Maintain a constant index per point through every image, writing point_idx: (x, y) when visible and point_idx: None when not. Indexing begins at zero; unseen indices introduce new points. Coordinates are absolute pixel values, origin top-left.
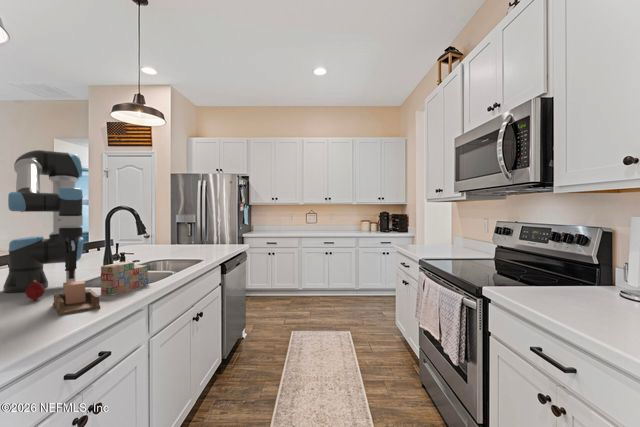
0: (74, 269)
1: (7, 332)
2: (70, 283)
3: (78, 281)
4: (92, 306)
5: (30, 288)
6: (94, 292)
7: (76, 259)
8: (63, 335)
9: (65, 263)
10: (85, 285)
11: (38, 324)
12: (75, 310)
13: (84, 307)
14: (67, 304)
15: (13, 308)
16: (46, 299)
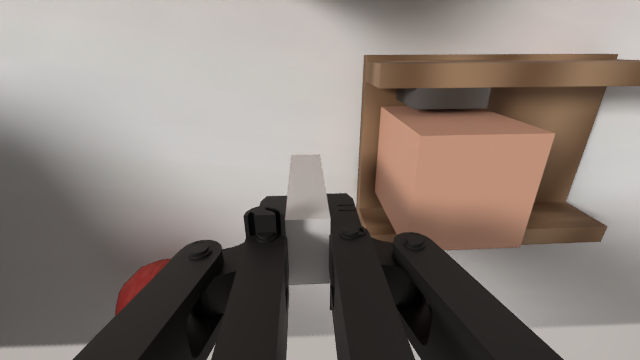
0: (366, 235)
1: (595, 322)
2: (471, 218)
3: (436, 165)
4: (590, 90)
5: None
6: (535, 63)
7: (537, 338)
8: None
9: (191, 344)
10: (540, 128)
11: (596, 265)
12: (576, 163)
13: (572, 125)
14: None
15: (292, 320)
16: (193, 231)
